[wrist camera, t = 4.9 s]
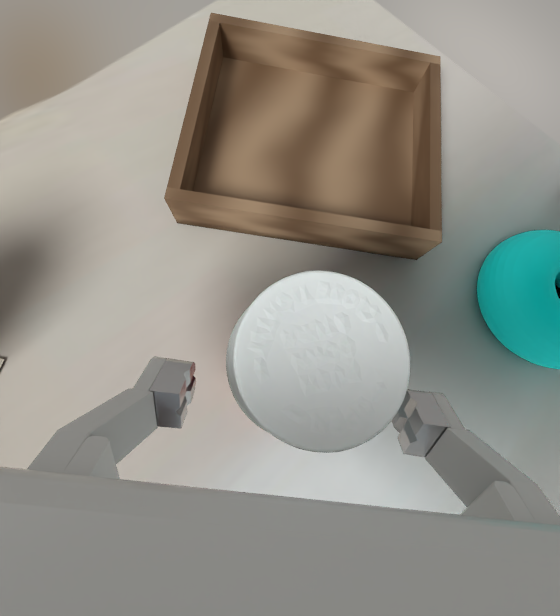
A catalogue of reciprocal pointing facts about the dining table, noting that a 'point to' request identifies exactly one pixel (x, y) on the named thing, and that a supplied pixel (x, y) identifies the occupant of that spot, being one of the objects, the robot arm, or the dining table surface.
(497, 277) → the donuts
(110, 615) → the robot arm
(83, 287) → the dining table surface
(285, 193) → the tray
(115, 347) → the dining table surface
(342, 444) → the pill bottle
